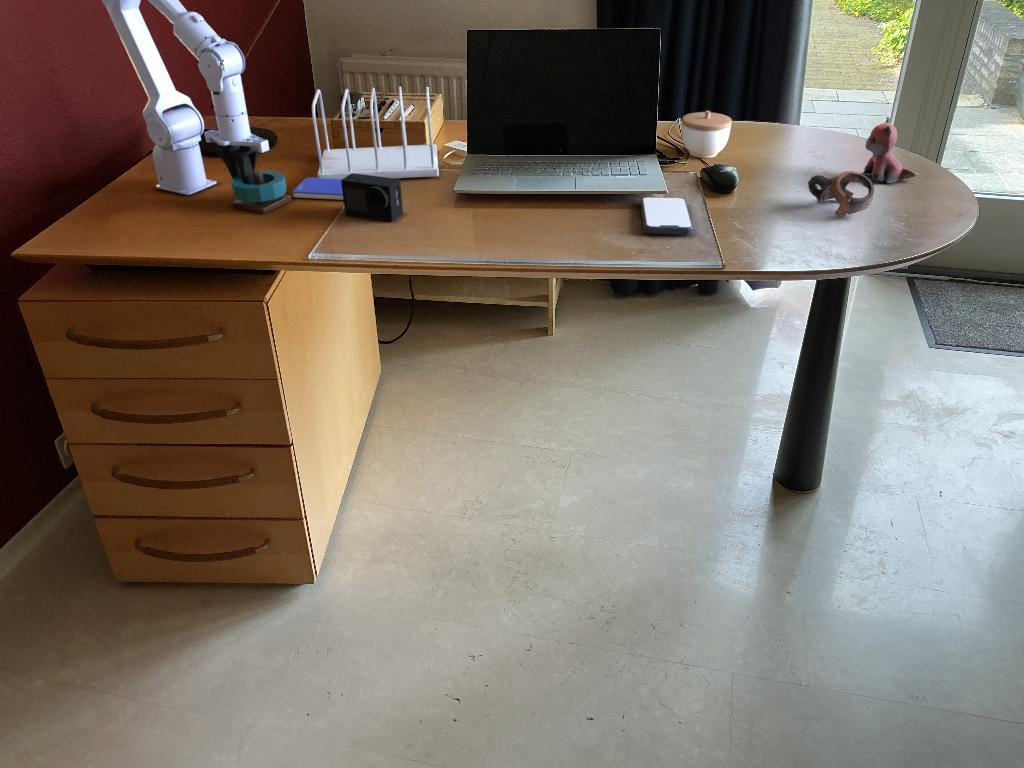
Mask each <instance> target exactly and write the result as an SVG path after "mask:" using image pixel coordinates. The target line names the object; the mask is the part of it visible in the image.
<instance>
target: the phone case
mask: <svg viewBox="0 0 1024 768" xmlns="http://www.w3.org/2000/svg"><path fill="white" fill-rule="evenodd" d="M640 208H641V209H640V210H641V216H642V219H641V220H642V222H643V230H644V232H645V233H646V234H649V235H680V236H681V235H683V236H684V235H687V236H688V235H692V234H693V233H694V224H693V220H692V217H691V213H690V209H689V206H688V203H687V199H686V198H683V197H661V196H660V197H659V196H658V197H656V196H655V197H651V196H646V197H645V196H644V197H642V198H641V199H640Z"/></svg>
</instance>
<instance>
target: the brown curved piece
mask: <svg viewBox="0 0 1024 768" xmlns="http://www.w3.org/2000/svg"><path fill="white" fill-rule="evenodd" d="M857 181H860V182H861V183H862V186H863V187H865V188H867V189H868V193H867V195H864V196H863V197H853V196H854V195H855V194H854V192H853V191H850V190H849V189H847V186H848V185H850V183H854V182H857ZM807 186H808V190H809V192H810V194H811V195H812V196H813V197H815V199H816V201H817V203H818V204H822V203H823V204H824V203H825V202H826V201H828V200H831V199H834V200H835V201H836V202H837V203H838V204H839V206H838V208H837V209H836V210H835V211H834V215H835V216H837V217H839V218H840V219H842V218H844V217H846V216H847V214H848V215H852V214H856V213H859V212H862V211H864V210H867V208H868V207H869V206H870V205H871V204H872V202H873V200H874V193H875V186H874V183H873V182H872V181H871V179H870V178H869V177H868V176H866V174H864V175H863V173H860V172H858V171H853V170H846V171H843V172H841V173H839V174H838V175H835V176H834V177H831V178H830V177H827V176H825V175H823V174H817V175H814V176H812V177H811V178H810V179H809V180H808V182H807ZM818 186H819V187H820V188H818Z"/></svg>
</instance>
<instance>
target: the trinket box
mask: <svg viewBox="0 0 1024 768" xmlns="http://www.w3.org/2000/svg"><path fill="white" fill-rule="evenodd" d="M732 123H733V120H732V118H731V117H730V116H728V115H725V114H722V113H717V112H711V110H705V111H699V112H691V113H687V114H685V115H683V116H682V118H681V140H682V141H681V142H682V144H683V146H684V148H685V149H686V151H688V153H689V155H690V156H692V157H695V158H699V159H700V158H701V159H709V158H714V157H716V156H718V154H719V153H720V152H721V151H723V149H724V148H725V146H726V145H727V143H728V140H729V137H730V133H731V126H732Z"/></svg>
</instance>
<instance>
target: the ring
mask: <svg viewBox="0 0 1024 768" xmlns="http://www.w3.org/2000/svg"><path fill="white" fill-rule="evenodd" d="M257 172H261V173H263V178H264V184H260V185H254V183H252V184H249V185H248V184H244V183H243V180H242V177H241V175H238V176H236V177H234V178H232V179H231V181H230V183H231V184H230V185H231V190H232V194H233V197H234V198H235V200H241V201H245V202H263V201H268V200H273V199H276V198H279V197H281V196H283V195H284V194H285V195H286V192H287V184H286V178H285V175H284V174H282V173H281V172H280V171H279V172H278V171H274V170H255V173H257Z"/></svg>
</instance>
